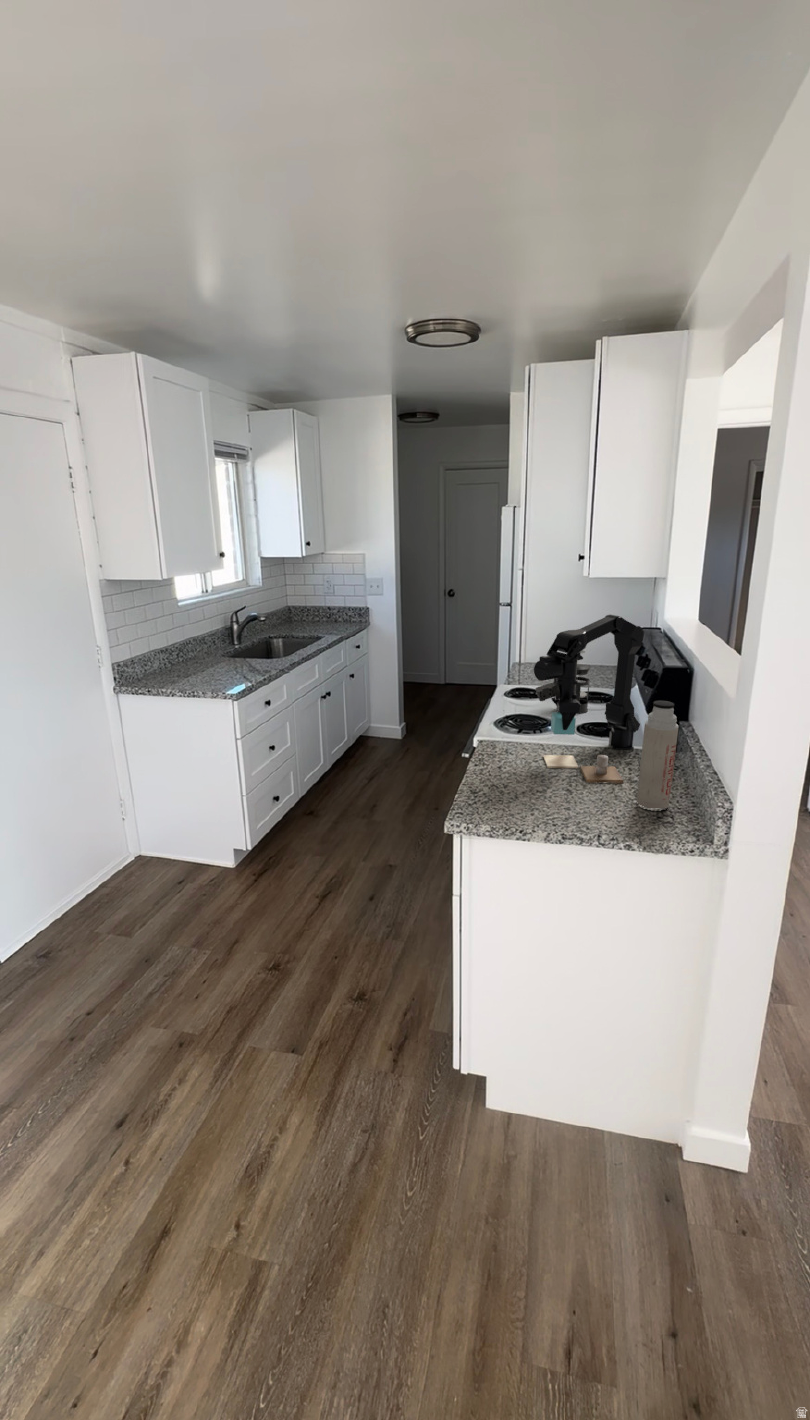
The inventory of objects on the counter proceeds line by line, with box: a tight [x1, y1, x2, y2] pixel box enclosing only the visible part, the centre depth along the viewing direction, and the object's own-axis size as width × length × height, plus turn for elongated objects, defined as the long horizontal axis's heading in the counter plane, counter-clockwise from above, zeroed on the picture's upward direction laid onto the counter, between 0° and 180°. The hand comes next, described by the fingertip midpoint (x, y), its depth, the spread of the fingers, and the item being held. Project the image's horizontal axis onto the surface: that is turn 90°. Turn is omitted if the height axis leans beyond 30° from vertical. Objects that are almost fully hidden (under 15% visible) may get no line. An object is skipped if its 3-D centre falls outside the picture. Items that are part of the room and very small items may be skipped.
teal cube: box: [550, 711, 577, 735], centre depth 199 cm, size 6×6×5 cm
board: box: [542, 754, 579, 769], centre depth 203 cm, size 9×9×1 cm
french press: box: [572, 650, 591, 715], centre depth 250 cm, size 12×9×23 cm
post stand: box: [579, 754, 624, 784], centre depth 192 cm, size 10×10×6 cm
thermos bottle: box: [636, 700, 680, 808], centre depth 170 cm, size 8×8×28 cm
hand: (563, 726), depth 200 cm, fingers closed on teal cube, 6 cm apart
